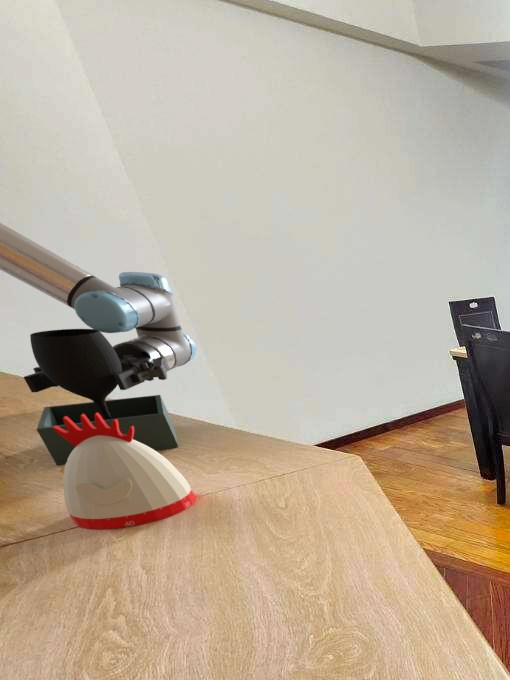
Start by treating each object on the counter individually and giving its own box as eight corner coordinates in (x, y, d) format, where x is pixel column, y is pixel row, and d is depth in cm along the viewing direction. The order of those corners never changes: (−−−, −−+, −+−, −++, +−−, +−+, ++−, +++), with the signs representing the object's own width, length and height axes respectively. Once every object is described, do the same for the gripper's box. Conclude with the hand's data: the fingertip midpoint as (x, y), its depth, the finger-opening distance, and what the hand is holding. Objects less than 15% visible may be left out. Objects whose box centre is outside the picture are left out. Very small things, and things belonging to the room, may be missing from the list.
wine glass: (142, 429, 121) (93, 326, 111) (164, 439, 116) (115, 332, 106) (72, 442, 113) (13, 332, 103) (93, 453, 108) (34, 340, 98)
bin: (62, 440, 115) (44, 406, 112) (174, 425, 125) (160, 394, 122) (56, 465, 104) (36, 429, 101) (178, 447, 114) (163, 413, 111)
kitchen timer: (95, 498, 94) (44, 405, 86) (204, 486, 99) (165, 397, 92) (57, 536, 83) (-5, 433, 76) (182, 519, 89) (136, 422, 81)
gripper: (217, 375, 129) (166, 401, 111) (78, 378, 122) (0, 406, 104) (203, 339, 125) (148, 360, 107) (58, 340, 118) (-26, 363, 100)
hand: (75, 383), depth 105 cm, fingers open, 12 cm apart
